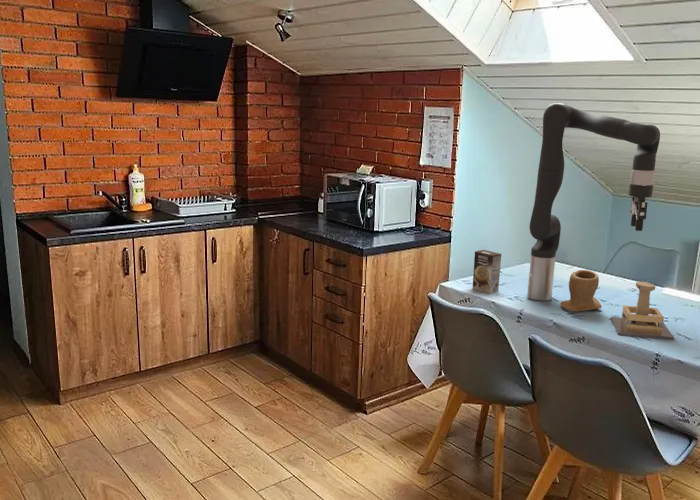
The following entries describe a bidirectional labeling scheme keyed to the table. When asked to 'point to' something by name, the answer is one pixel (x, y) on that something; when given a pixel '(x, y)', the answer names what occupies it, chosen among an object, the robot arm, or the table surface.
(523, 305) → the table surface
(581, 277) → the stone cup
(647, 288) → the handle
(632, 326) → the collar stand
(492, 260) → the coffee box
